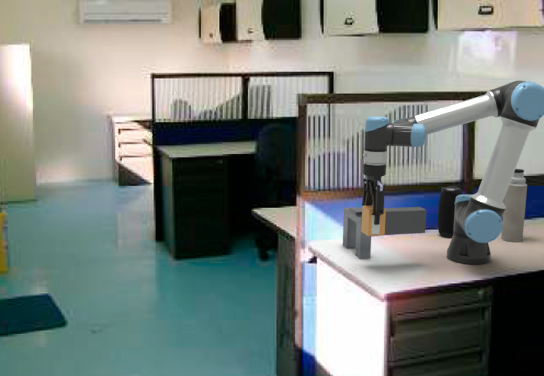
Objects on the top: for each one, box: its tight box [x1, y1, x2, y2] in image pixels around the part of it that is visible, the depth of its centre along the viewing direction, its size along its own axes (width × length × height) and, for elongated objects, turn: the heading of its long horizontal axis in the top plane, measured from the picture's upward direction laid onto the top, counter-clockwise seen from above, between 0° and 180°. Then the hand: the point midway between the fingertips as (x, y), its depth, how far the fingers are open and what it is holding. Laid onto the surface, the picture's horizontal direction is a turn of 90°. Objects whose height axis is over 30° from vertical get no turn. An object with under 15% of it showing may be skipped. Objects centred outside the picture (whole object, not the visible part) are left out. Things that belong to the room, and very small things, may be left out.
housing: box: [342, 206, 372, 260], centre depth 255 cm, size 18×4×16 cm, turn 14°
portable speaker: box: [437, 185, 463, 239], centre depth 279 cm, size 9×9×20 cm
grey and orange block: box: [361, 204, 427, 237], centre depth 238 cm, size 21×6×9 cm, turn 104°
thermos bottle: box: [500, 168, 528, 243], centre depth 273 cm, size 8×8×28 cm
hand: (371, 230), depth 237 cm, fingers closed on grey and orange block, 6 cm apart
